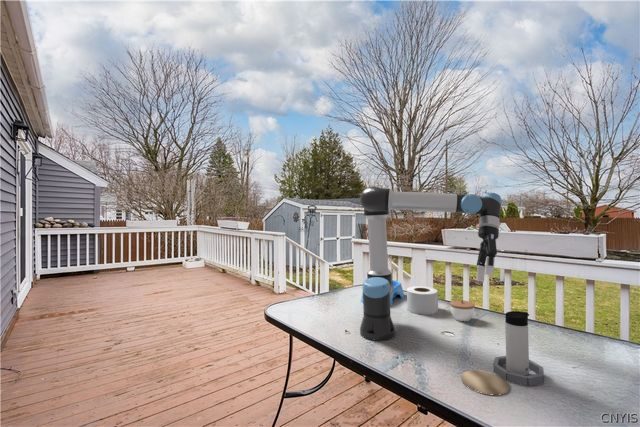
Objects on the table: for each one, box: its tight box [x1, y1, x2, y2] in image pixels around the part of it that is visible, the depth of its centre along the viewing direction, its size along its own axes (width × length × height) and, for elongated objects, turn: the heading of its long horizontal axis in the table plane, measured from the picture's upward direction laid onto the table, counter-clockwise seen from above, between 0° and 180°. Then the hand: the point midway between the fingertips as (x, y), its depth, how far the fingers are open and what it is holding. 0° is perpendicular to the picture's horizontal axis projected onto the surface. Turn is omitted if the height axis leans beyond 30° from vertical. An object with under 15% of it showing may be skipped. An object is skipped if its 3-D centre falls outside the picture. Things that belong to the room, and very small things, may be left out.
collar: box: [492, 355, 545, 387], centre depth 102 cm, size 14×14×2 cm
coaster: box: [460, 369, 510, 396], centre depth 97 cm, size 13×13×1 cm
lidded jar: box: [449, 299, 475, 322], centre depth 150 cm, size 11×11×9 cm
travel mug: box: [504, 310, 530, 376], centre depth 101 cm, size 6×7×20 cm
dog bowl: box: [360, 279, 405, 306], centre depth 188 cm, size 34×19×8 cm, turn 142°
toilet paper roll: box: [406, 285, 439, 316], centre depth 166 cm, size 16×15×11 cm
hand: (484, 278), depth 124 cm, fingers open, 13 cm apart
